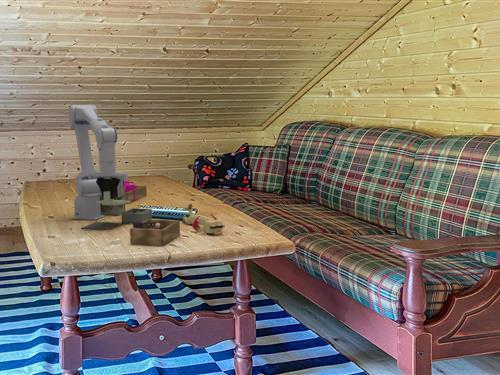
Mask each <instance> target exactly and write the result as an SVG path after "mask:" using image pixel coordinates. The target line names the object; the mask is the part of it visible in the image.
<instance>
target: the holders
mask: <svg viewBox="0 0 500 375" xmlns="http://www.w3.org/2000/svg"><path fill="white" fill-rule="evenodd" d="M134 185H135V184H134ZM147 191H148V190H147V185H137V184H136V185H135V201H134V198H133V191H129V192H125V201H130V203H125V205H129V204H131V203H134V202H137V201H139V200H141V199H144V198H145V197H147V196H148V193H147ZM156 222H160V223H161V230H160V227H159V230H157V229H156V226H155V227H151V226H150V227H147V226H146V225H147V224H143V229H136V228H135V227H133V226H132V227H130V228H129V235H130V236H129V237H130V239H129V240H130V242H129V243H130V244H132V245H142V246H158V247H159V246H166V245H168V244H169V243H171V242H172V241H173V240H175V239H176V238H178V237H179V236H180V235H181V228H180V227H181V225H180V224H181V223H180V220H178V219H177V220H175V219H174V220H173V219H157V218H156V219H154V218H152V219H148V220H146V221H144V222H142V223H156ZM155 225H156V224H155Z"/></svg>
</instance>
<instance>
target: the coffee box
mask: <svg viewBox="0 0 500 375" xmlns="http://www.w3.org/2000/svg"><path fill="white" fill-rule="evenodd" d="M108 180H111V179H108ZM124 181H125V179H120V182H119V184H118V187H117V190H116V194H115V198H114V200H124V201H125V191H124ZM107 191H110V186H109V182H107ZM103 200H104V199H103V197H102V193H101V195H100V201H103ZM100 208H101V215H105V216H108V215H109V216H120V215H121V213H122V212H124V211H126V204H124V205H102V203H100Z"/></svg>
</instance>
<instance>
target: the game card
mask: <svg viewBox="0 0 500 375" xmlns="http://www.w3.org/2000/svg"><path fill="white" fill-rule="evenodd" d="M143 224H147V225H146V226H147V227H150V226H151V227H155V226H156V229H157V230H159V227H160V230H161V223H160V222H156V223H133V224H132V227H135V228H136V229H143ZM155 224H156V225H155Z"/></svg>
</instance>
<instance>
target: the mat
mask: <svg viewBox="0 0 500 375" xmlns="http://www.w3.org/2000/svg"><path fill="white" fill-rule="evenodd" d="M121 224H122V222H107V221H95V222H92V223H90V224H87V225H85V226H84V227H81V230H90V231H91V230H94V231H95V230H96V231H109V230H111V229H113V228H115V227H117V226H120V225H121Z"/></svg>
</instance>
